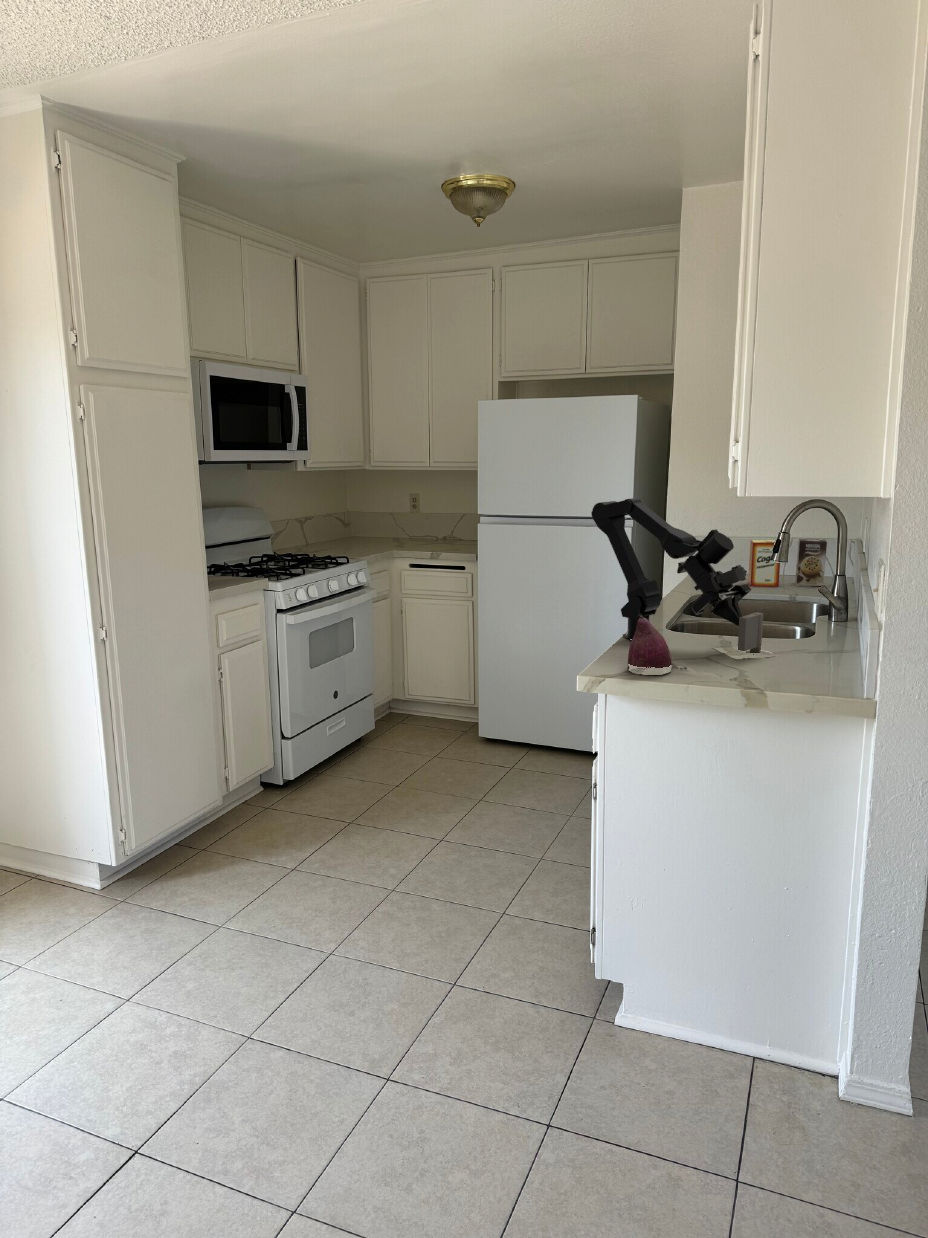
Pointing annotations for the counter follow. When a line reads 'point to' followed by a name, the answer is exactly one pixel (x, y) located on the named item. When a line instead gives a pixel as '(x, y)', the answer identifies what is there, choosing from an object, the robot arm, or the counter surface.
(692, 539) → the robot arm
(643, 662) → the vegetable
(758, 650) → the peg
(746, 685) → the counter surface
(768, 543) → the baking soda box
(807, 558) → the cookie box
